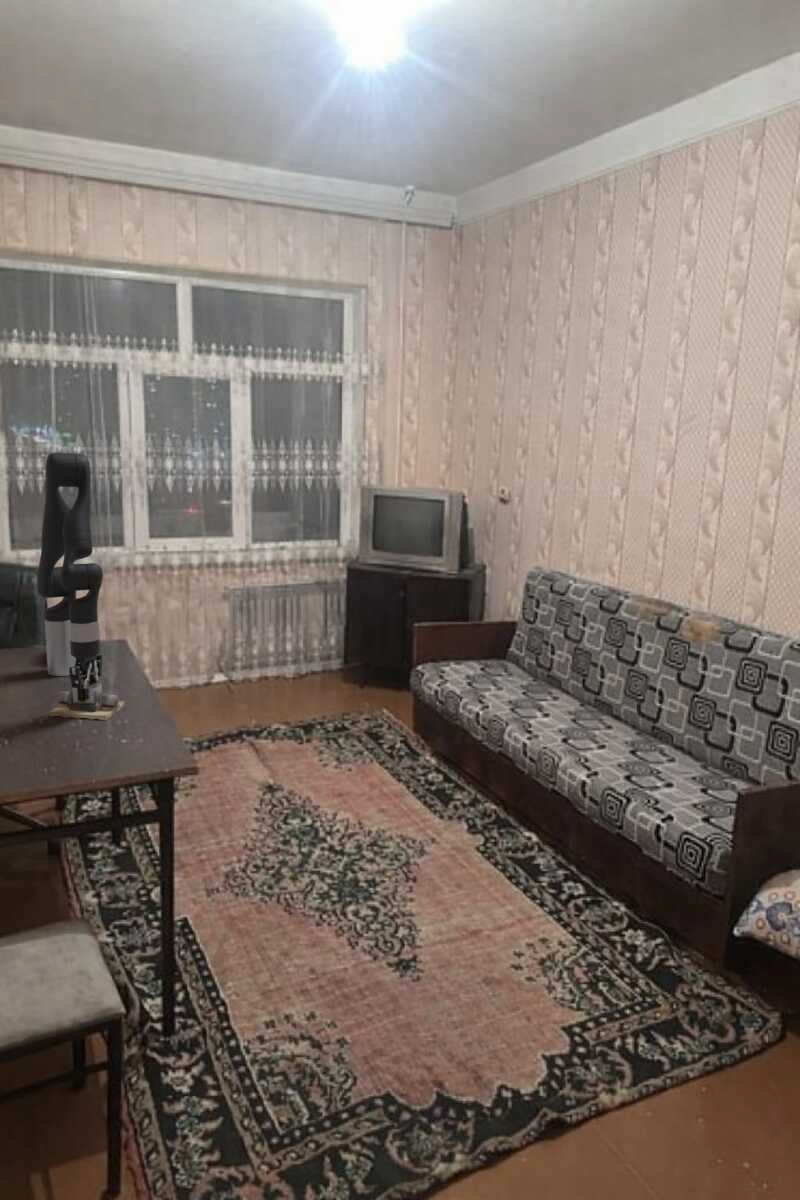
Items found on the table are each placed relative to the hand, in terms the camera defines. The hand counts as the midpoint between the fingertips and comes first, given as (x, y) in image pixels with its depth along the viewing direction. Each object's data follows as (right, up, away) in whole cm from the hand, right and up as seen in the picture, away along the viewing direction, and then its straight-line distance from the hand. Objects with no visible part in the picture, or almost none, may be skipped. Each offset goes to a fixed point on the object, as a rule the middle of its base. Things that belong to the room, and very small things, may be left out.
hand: (87, 697), depth 227 cm
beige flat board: (0, -4, +1) cm, 4 cm away
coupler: (0, -3, +1) cm, 3 cm away
